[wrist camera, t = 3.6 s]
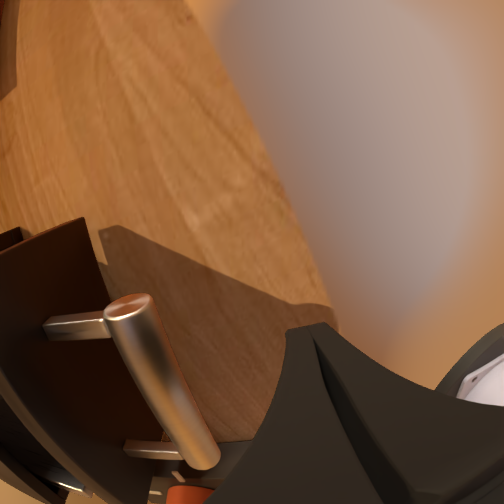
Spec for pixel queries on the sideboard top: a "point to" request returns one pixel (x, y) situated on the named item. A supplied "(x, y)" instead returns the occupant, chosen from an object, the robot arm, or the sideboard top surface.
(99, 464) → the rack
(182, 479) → the timer panel
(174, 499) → the timer knob
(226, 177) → the sideboard top surface
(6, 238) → the black box
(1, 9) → the picture frame
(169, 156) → the sideboard top surface
